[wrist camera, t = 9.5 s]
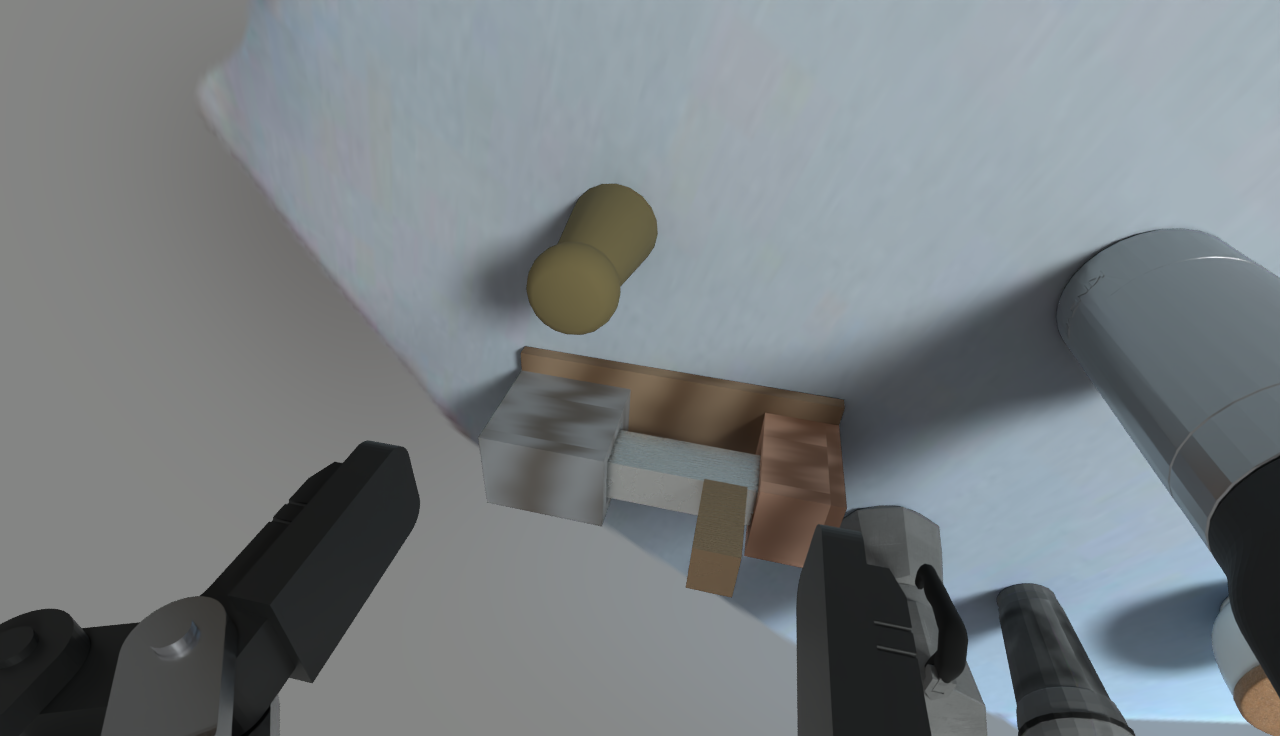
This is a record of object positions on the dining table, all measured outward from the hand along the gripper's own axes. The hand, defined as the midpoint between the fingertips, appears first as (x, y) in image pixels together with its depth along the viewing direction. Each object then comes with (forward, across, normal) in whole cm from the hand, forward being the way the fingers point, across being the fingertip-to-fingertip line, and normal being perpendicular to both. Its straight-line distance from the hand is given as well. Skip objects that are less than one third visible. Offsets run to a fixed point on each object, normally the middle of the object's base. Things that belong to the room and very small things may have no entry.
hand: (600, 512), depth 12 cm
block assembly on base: (+30, +2, +23) cm, 38 cm away
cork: (+30, +7, +7) cm, 32 cm away
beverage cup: (+30, -31, +36) cm, 56 cm away
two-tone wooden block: (+26, -1, +23) cm, 35 cm away
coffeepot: (+30, -18, +31) cm, 47 cm away
